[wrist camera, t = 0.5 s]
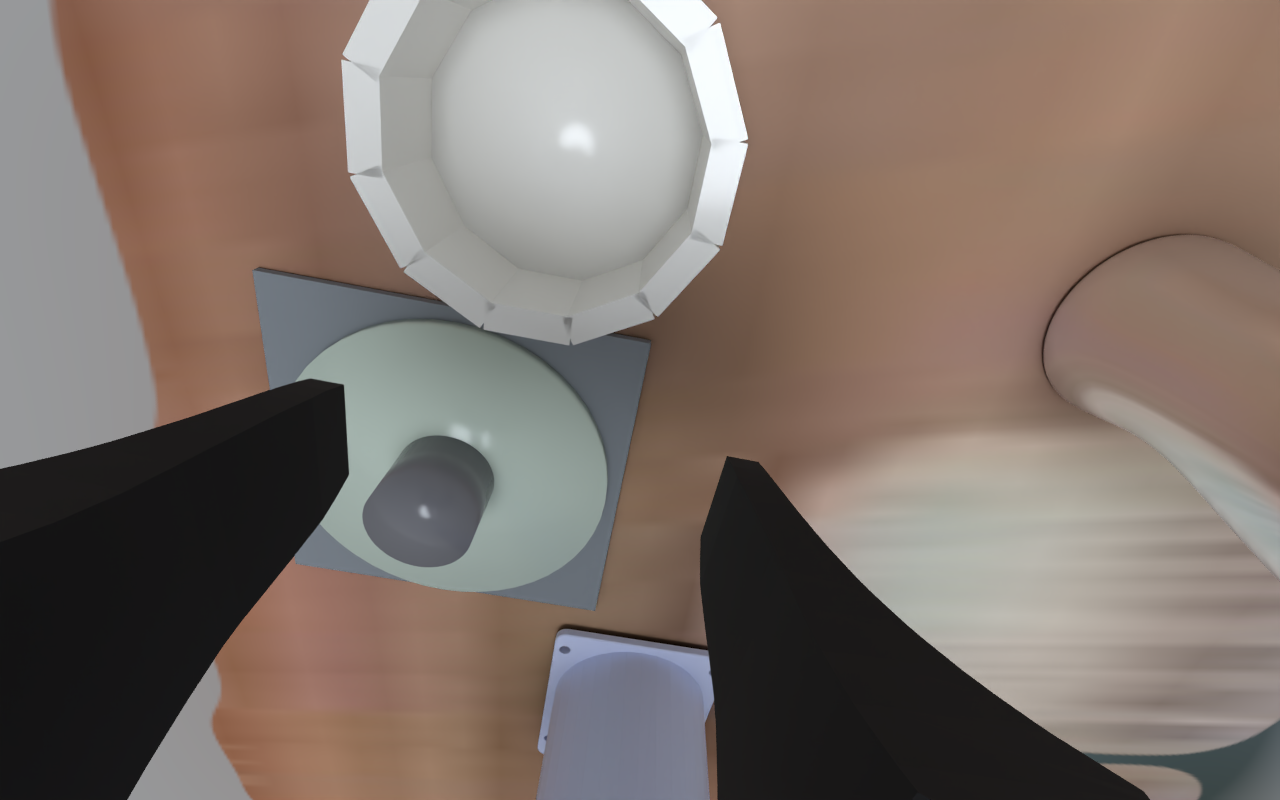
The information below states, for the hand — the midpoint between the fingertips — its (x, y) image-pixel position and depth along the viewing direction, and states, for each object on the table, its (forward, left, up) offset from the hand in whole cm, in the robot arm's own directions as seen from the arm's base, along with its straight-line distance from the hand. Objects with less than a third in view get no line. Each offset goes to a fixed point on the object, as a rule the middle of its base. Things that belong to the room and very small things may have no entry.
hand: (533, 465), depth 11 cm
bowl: (+5, +1, -9) cm, 10 cm away
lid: (-7, +4, -9) cm, 12 cm away
